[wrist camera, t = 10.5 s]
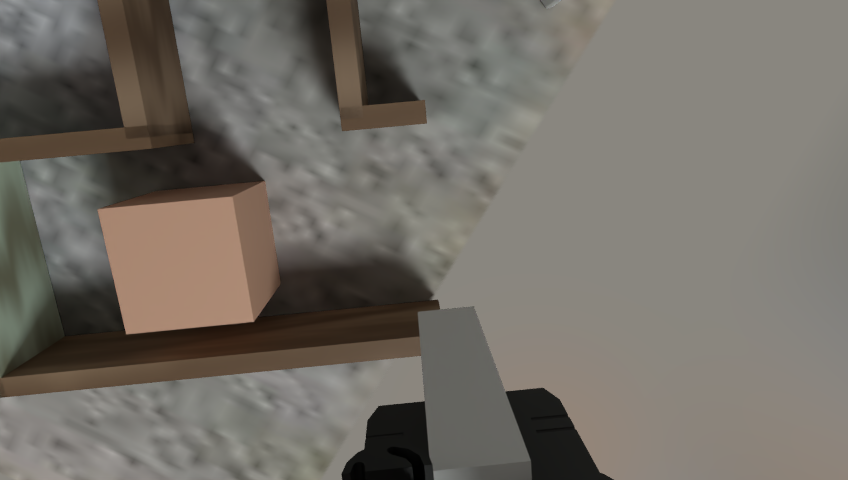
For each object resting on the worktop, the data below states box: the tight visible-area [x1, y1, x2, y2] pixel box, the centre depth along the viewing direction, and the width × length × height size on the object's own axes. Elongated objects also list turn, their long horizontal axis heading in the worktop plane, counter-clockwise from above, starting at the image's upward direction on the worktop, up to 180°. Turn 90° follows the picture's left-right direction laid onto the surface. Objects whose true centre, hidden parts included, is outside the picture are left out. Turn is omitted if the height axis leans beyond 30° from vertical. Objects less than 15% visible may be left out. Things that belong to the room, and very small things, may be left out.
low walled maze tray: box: [0, 100, 440, 398], centre depth 33 cm, size 14×27×6 cm, turn 95°
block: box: [98, 181, 281, 334], centre depth 32 cm, size 7×7×7 cm
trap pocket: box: [97, 0, 369, 139], centre depth 30 cm, size 11×12×6 cm
